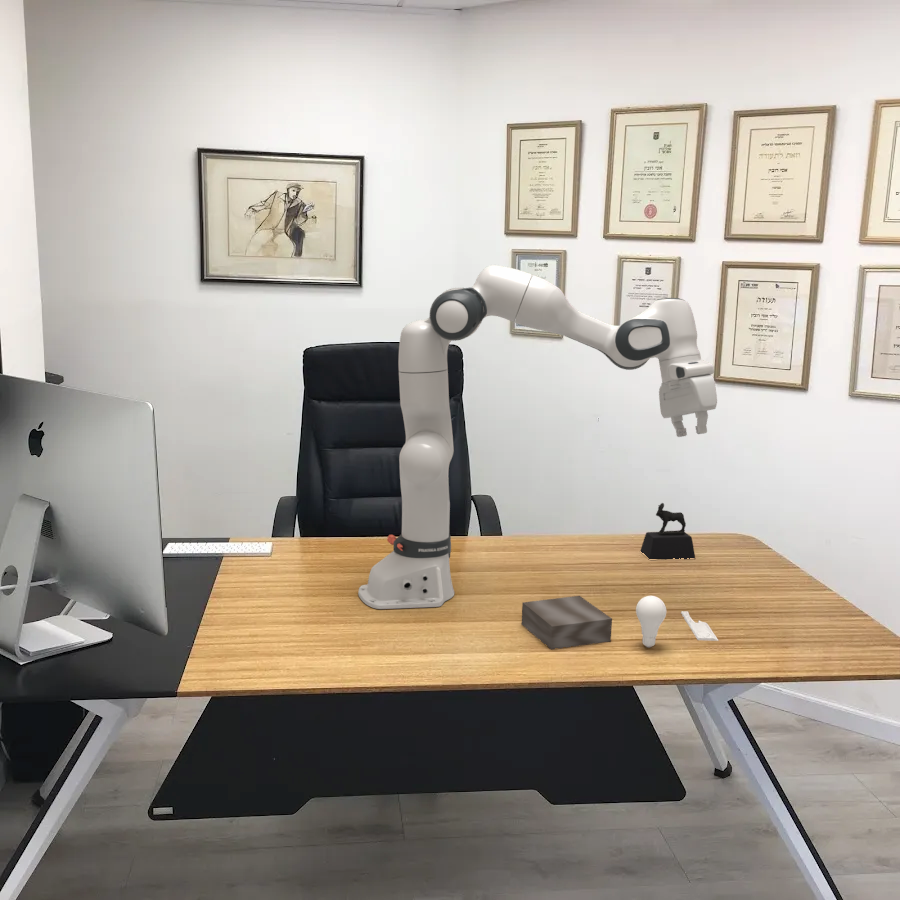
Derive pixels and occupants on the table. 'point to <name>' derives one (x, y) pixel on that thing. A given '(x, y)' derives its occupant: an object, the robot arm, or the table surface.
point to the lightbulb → (650, 617)
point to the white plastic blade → (699, 628)
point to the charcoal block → (566, 622)
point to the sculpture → (668, 539)
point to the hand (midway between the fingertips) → (691, 435)
